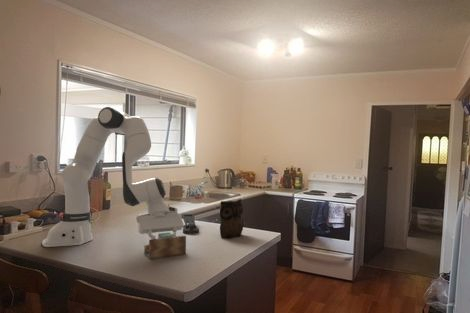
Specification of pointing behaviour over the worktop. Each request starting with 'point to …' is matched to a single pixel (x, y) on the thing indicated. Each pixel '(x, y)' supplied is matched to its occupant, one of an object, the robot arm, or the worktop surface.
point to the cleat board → (165, 247)
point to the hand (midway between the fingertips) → (164, 239)
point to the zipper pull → (189, 224)
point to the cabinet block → (164, 235)
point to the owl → (231, 219)
